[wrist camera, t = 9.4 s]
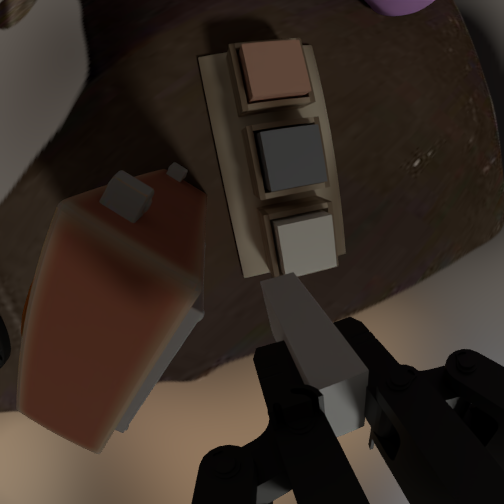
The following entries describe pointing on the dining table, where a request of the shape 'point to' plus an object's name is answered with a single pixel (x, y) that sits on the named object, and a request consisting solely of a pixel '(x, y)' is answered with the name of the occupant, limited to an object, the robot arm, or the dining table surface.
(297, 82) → the terracotta key
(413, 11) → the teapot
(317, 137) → the graphite key
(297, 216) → the ivory key
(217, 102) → the keypad board
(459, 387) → the robot arm
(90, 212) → the terracotta and grey box
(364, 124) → the dining table surface
